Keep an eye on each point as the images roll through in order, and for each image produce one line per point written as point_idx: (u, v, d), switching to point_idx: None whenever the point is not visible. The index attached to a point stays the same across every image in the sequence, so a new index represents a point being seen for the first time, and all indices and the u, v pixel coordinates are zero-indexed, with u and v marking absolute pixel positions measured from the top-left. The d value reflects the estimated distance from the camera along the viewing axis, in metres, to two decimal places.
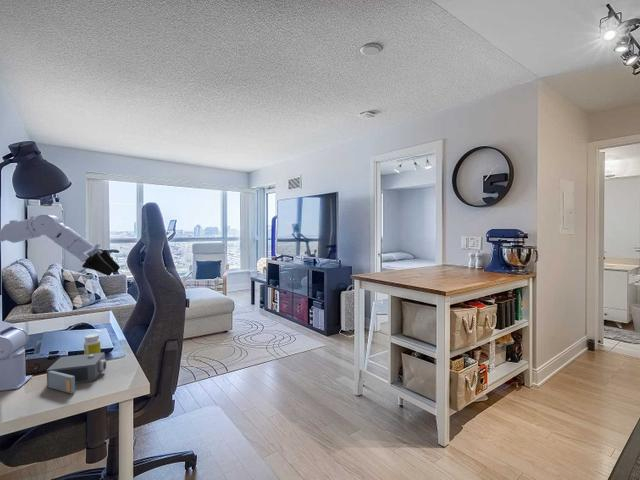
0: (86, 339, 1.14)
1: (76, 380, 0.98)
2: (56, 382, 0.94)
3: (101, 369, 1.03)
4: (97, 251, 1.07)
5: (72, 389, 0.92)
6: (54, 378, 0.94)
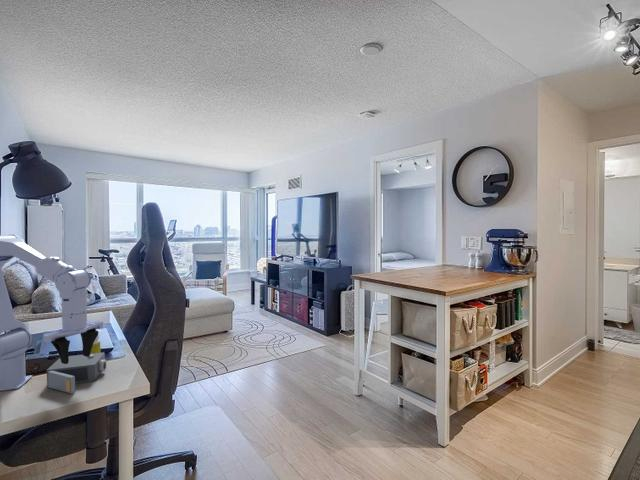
0: None
1: (76, 380, 0.98)
2: (56, 382, 0.94)
3: (101, 369, 1.03)
4: (93, 326, 0.98)
5: (72, 389, 0.92)
6: (54, 378, 0.94)
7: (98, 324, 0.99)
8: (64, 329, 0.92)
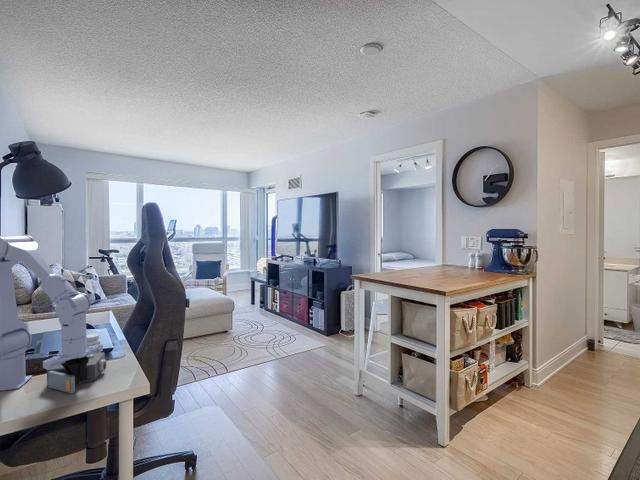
0: None
1: None
2: (56, 382, 0.94)
3: (101, 369, 1.03)
4: None
5: (72, 389, 0.92)
6: (54, 378, 0.94)
7: (98, 347, 0.99)
8: (64, 354, 0.92)
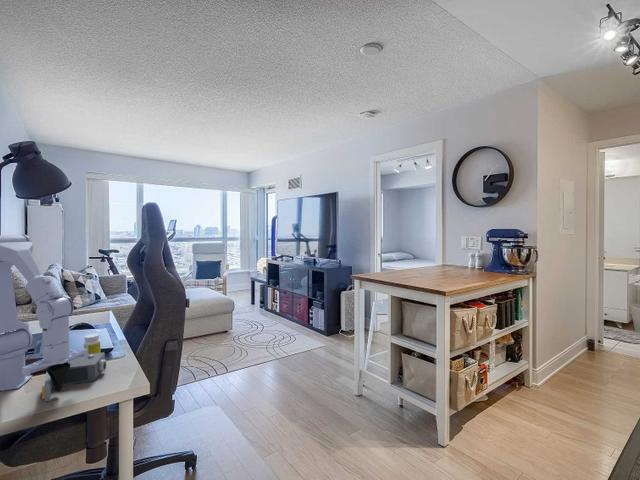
0: (86, 339, 1.14)
1: (76, 380, 0.98)
2: None
3: (101, 369, 1.03)
4: (76, 355, 0.94)
5: (46, 397, 0.88)
6: None
7: (82, 352, 0.95)
8: (45, 360, 0.88)
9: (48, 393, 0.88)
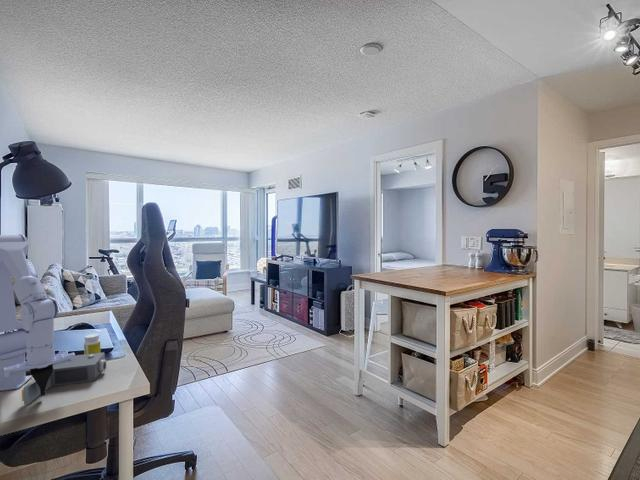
0: (86, 339, 1.14)
1: (76, 380, 0.98)
2: None
3: (101, 369, 1.03)
4: None
5: (25, 400, 0.86)
6: None
7: (68, 357, 0.92)
8: (27, 362, 0.86)
9: (26, 396, 0.86)
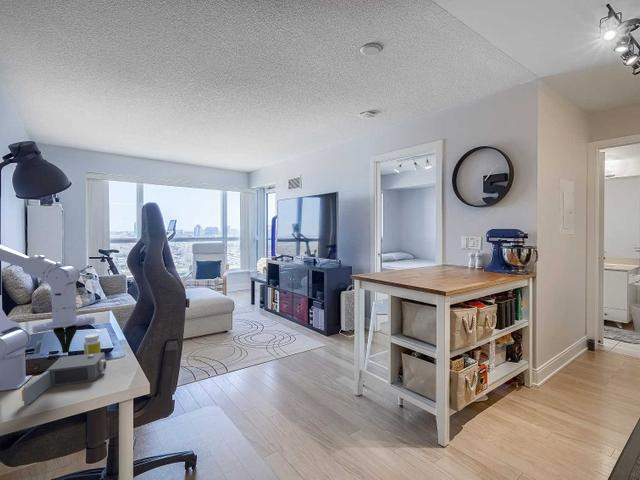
0: (86, 339, 1.14)
1: (76, 380, 0.98)
2: None
3: (101, 369, 1.03)
4: (83, 321, 1.00)
5: (25, 400, 0.86)
6: None
7: (88, 320, 1.01)
8: (52, 322, 0.96)
9: (26, 396, 0.86)
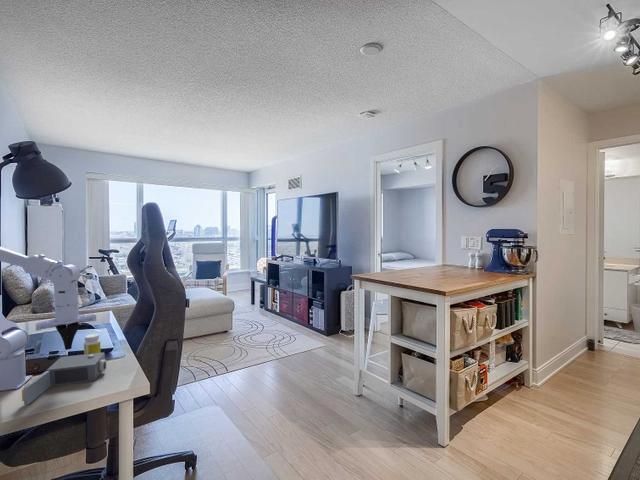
0: (86, 339, 1.14)
1: (76, 380, 0.98)
2: None
3: (101, 369, 1.03)
4: None
5: (25, 400, 0.86)
6: None
7: (90, 317, 1.03)
8: (55, 319, 0.98)
9: (26, 396, 0.86)
